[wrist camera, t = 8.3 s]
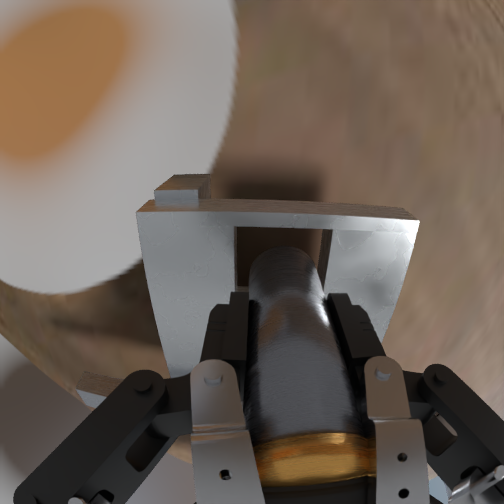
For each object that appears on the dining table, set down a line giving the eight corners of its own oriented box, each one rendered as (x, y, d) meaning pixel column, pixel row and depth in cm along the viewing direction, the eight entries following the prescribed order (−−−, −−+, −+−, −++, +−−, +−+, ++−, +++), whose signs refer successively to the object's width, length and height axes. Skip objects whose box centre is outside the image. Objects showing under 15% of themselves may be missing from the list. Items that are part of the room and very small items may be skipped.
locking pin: (322, 244, 13) (401, 459, 4) (313, 304, 14) (353, 498, 5) (247, 242, 13) (231, 477, 4) (247, 303, 14) (236, 506, 6)
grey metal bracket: (378, 182, 18) (527, 305, 5) (338, 355, 25) (369, 490, 13) (73, 182, 18) (-71, 278, 5) (116, 345, 25) (66, 463, 13)
